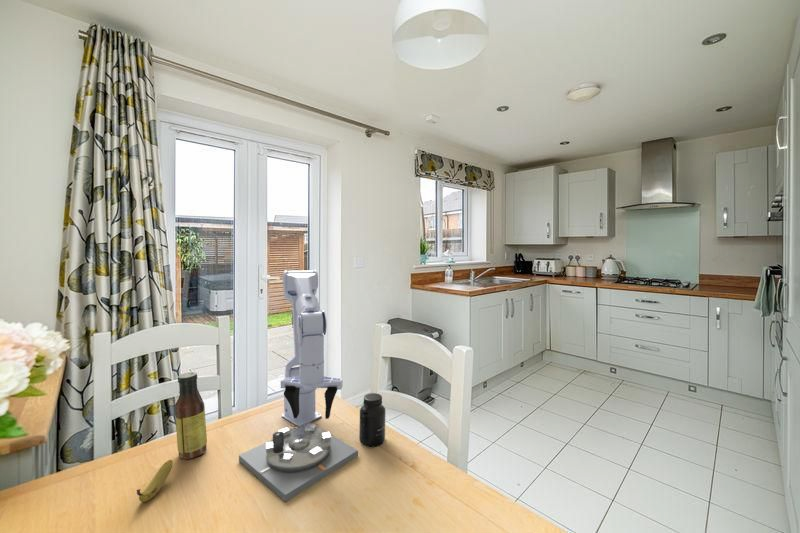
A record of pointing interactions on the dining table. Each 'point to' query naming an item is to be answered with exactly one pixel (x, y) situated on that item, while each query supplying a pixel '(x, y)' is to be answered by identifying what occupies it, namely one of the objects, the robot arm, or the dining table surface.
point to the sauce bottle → (190, 418)
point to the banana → (156, 482)
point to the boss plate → (296, 482)
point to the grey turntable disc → (298, 448)
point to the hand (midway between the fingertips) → (312, 416)
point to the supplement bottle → (372, 421)
